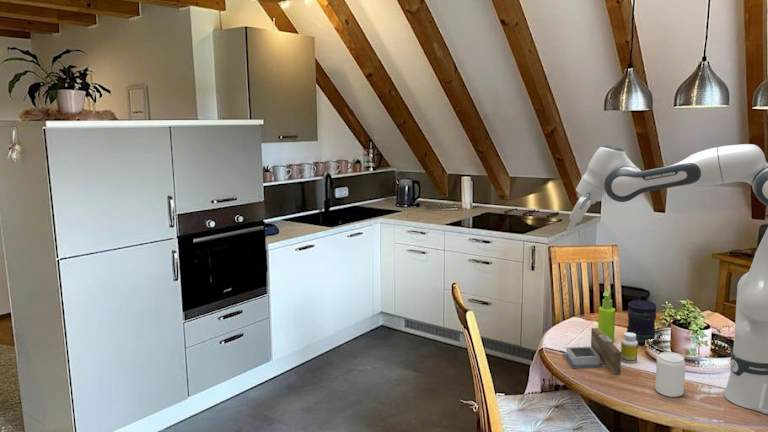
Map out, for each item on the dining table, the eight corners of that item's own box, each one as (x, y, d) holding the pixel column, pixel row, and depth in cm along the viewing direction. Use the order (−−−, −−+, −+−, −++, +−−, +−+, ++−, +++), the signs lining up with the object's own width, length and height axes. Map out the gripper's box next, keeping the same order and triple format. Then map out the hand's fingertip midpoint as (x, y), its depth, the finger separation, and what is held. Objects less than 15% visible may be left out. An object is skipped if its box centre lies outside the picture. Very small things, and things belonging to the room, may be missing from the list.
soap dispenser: (595, 343, 225) (597, 293, 221) (599, 337, 231) (601, 288, 227) (611, 346, 222) (613, 295, 218) (615, 339, 227) (617, 290, 224)
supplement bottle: (638, 363, 206) (639, 337, 204) (622, 363, 207) (623, 336, 206) (635, 357, 211) (636, 331, 210) (619, 356, 213) (620, 331, 211)
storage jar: (647, 335, 230) (649, 299, 227) (659, 345, 220) (661, 308, 218) (622, 337, 230) (623, 300, 227) (633, 347, 220) (635, 309, 217)
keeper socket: (592, 354, 215) (592, 345, 214) (603, 367, 204) (603, 358, 203) (562, 355, 215) (562, 346, 214) (571, 368, 204) (572, 359, 204)
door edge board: (597, 348, 220) (598, 326, 219) (620, 374, 199) (621, 350, 197) (590, 348, 220) (591, 326, 219) (613, 374, 199) (613, 351, 197)
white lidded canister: (667, 384, 191) (669, 349, 189) (689, 394, 184) (691, 358, 182) (649, 389, 188) (651, 354, 185) (671, 400, 180) (673, 364, 178)
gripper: (595, 201, 184) (575, 238, 189) (602, 189, 202) (584, 223, 207) (577, 192, 186) (557, 229, 191) (585, 181, 203) (567, 215, 209)
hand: (571, 226), depth 199 cm, fingers open, 8 cm apart
